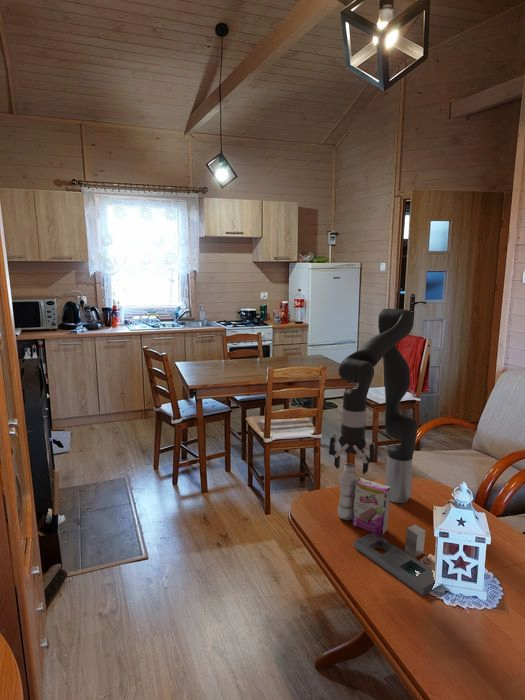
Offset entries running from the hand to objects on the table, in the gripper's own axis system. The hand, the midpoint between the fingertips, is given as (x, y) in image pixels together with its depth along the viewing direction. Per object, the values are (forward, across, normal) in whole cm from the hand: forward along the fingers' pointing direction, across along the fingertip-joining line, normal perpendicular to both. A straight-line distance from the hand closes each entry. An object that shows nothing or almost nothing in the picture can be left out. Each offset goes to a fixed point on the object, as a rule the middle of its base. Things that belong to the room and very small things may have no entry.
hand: (350, 470), depth 147 cm
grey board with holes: (+25, -17, +6) cm, 30 cm away
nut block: (+25, -21, -3) cm, 33 cm away
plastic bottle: (+25, +3, -13) cm, 28 cm away
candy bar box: (+25, -5, -10) cm, 27 cm away
